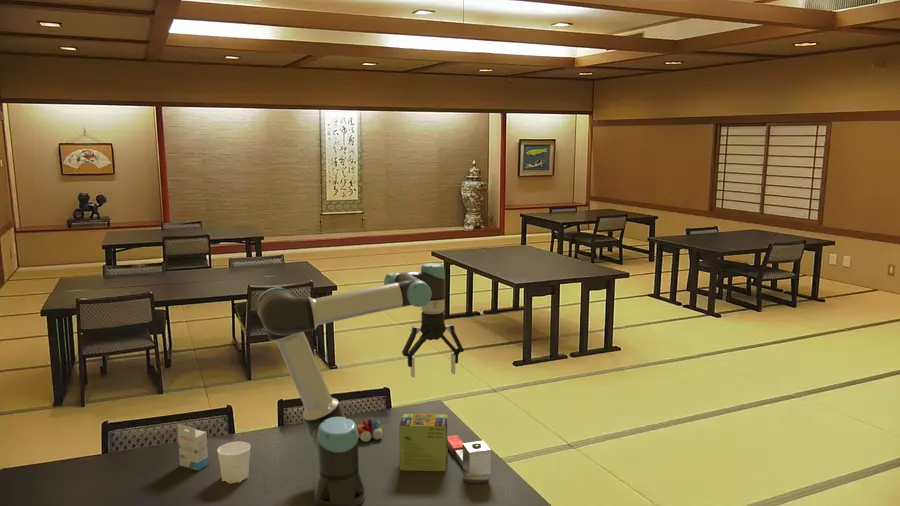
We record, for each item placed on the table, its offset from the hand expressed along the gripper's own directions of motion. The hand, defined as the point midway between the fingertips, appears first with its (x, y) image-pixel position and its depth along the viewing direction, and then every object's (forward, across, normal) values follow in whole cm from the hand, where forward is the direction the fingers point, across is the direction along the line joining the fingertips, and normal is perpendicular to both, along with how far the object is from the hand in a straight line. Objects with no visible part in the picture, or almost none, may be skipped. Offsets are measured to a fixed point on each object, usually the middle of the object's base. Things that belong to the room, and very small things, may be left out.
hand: (433, 374), depth 225 cm
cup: (+31, -64, +5) cm, 71 cm away
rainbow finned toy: (+31, -18, +25) cm, 43 cm away
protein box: (+30, -3, -1) cm, 31 cm away
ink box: (+31, -77, +17) cm, 85 cm away
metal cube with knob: (+27, +10, -16) cm, 33 cm away
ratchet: (+30, +10, -4) cm, 32 cm away
